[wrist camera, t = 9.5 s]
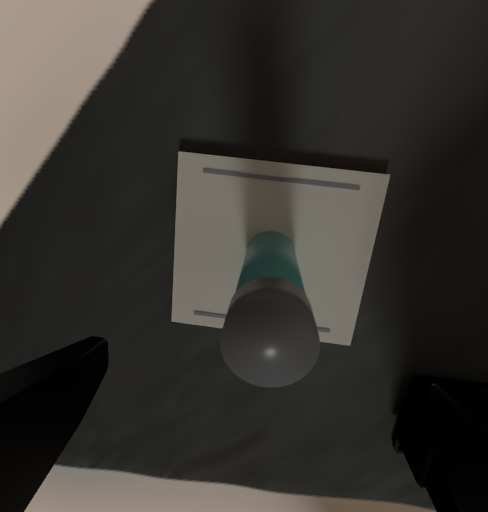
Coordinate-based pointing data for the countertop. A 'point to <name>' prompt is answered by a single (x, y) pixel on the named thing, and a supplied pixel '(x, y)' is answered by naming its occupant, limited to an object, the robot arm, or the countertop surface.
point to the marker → (270, 317)
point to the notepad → (279, 220)
